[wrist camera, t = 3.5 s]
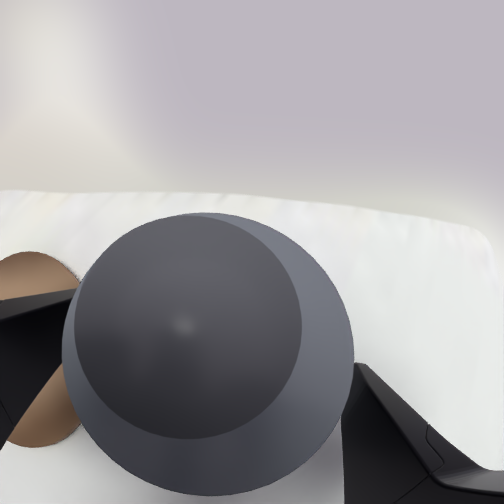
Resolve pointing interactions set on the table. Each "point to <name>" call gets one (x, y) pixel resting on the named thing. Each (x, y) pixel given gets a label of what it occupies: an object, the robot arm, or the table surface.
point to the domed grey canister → (207, 354)
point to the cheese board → (55, 391)
